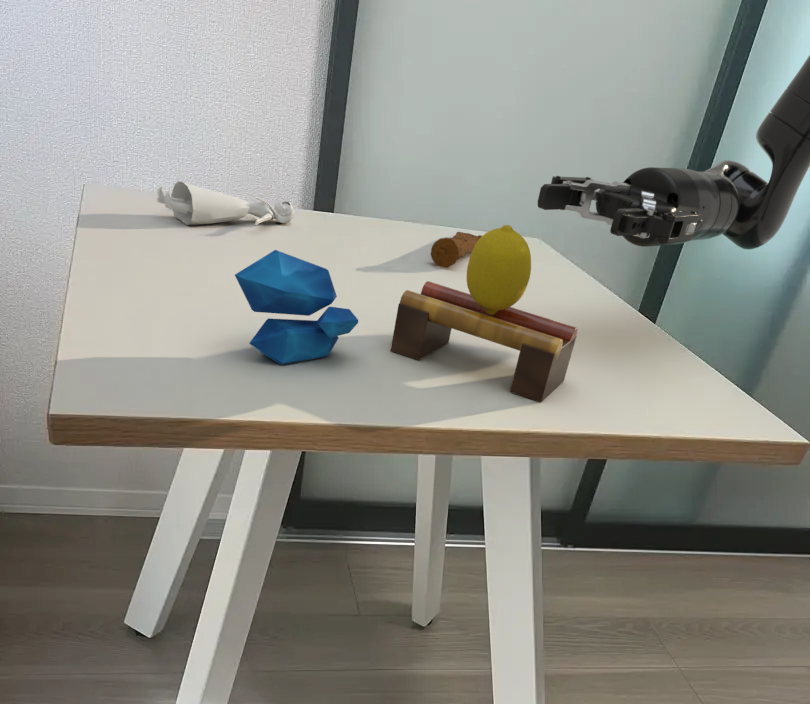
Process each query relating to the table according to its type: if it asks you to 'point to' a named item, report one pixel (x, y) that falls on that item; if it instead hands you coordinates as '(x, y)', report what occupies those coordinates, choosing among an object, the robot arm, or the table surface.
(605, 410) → the table surface
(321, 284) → the blue crystals
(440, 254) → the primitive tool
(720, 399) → the table surface
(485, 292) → the lemon
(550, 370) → the rod rack
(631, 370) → the table surface
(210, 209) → the woman figurine
